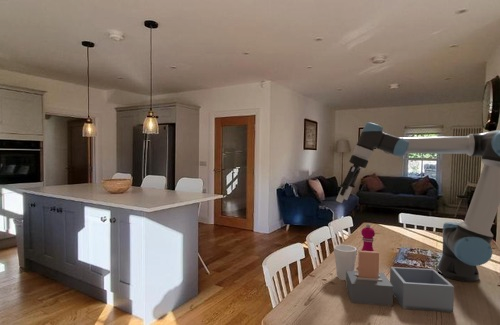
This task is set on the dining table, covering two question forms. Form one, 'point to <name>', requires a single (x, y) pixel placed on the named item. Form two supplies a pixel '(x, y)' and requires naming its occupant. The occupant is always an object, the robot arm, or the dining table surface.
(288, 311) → the dining table surface
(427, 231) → the dining table surface
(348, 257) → the foam cup
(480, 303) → the dining table surface
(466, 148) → the robot arm
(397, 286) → the bin
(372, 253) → the terracotta flat slab
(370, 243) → the pepper mill
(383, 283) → the dispenser
